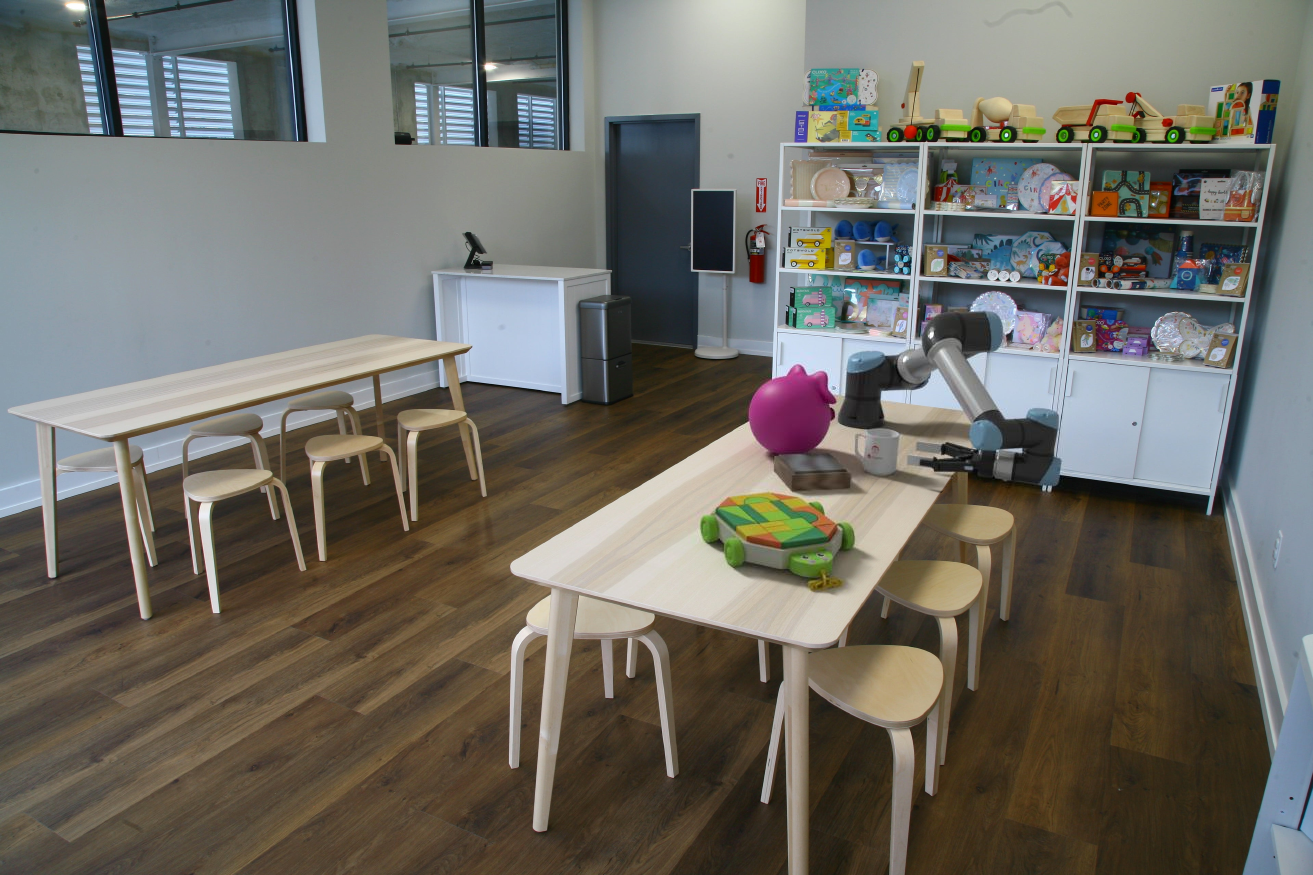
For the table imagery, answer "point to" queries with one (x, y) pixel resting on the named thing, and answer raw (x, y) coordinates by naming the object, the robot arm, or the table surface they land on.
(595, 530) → the table surface
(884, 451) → the mug
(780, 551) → the toy wagon
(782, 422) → the figurine
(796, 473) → the walnut plinth
